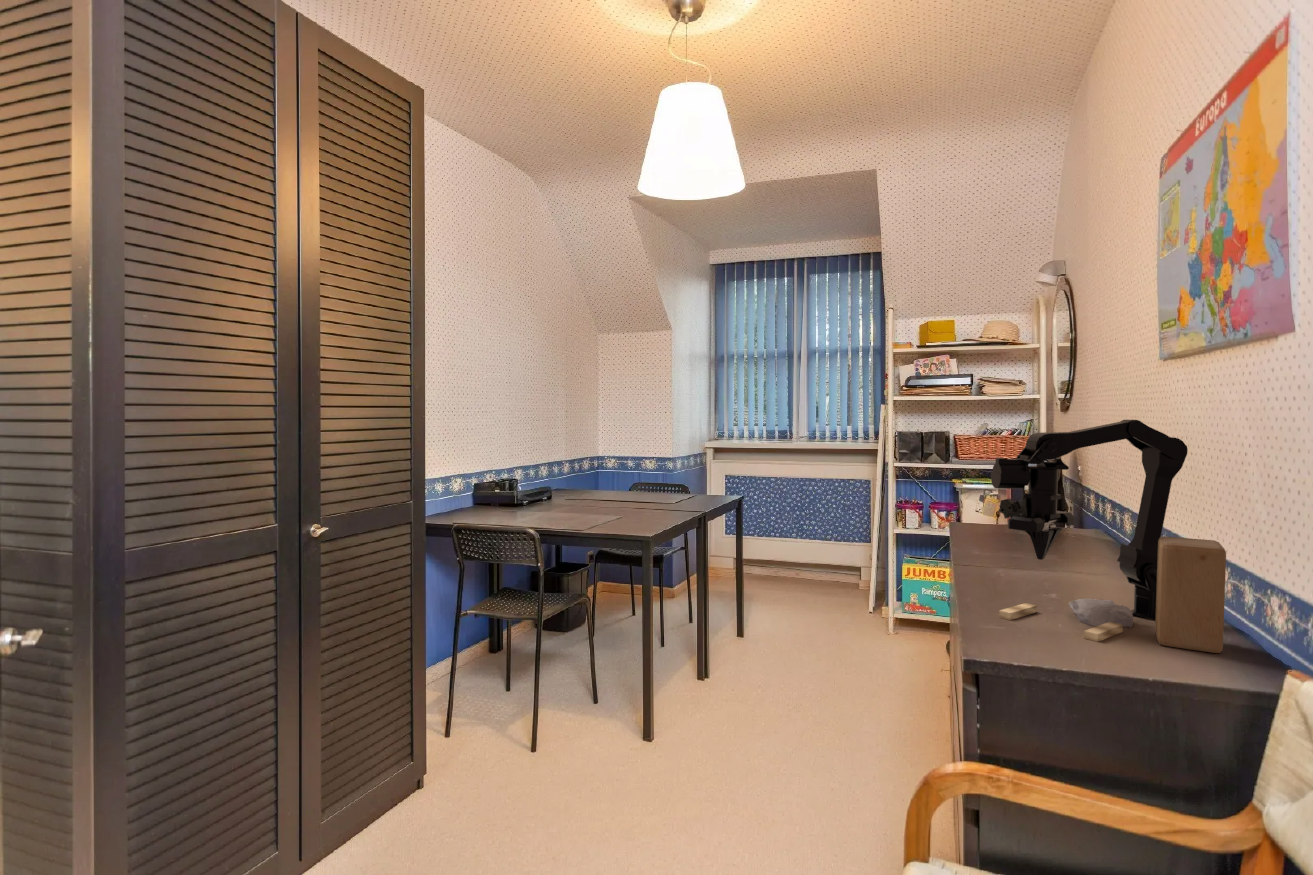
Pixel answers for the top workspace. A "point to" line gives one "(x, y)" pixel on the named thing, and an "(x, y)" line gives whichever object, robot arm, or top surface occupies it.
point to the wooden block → (1190, 594)
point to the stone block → (1101, 612)
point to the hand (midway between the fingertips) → (1040, 559)
